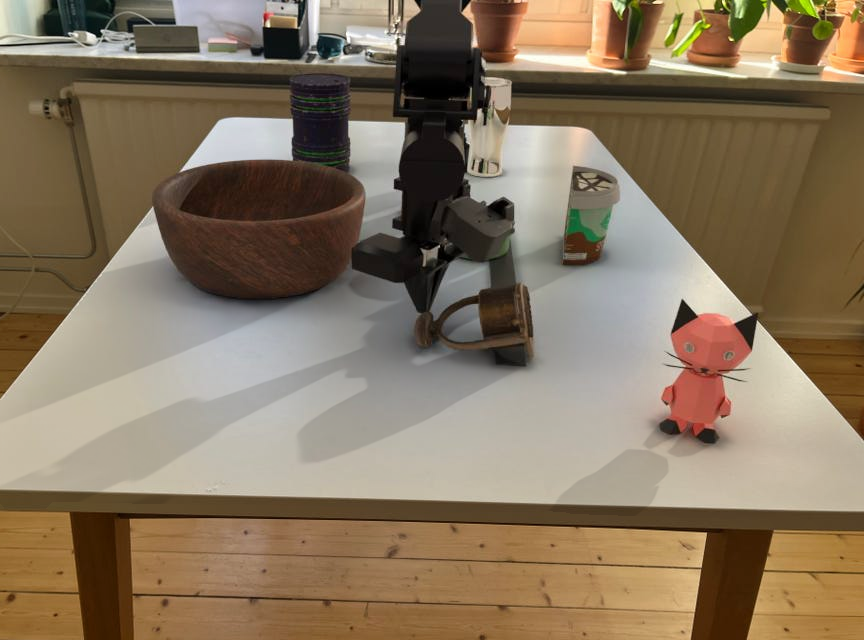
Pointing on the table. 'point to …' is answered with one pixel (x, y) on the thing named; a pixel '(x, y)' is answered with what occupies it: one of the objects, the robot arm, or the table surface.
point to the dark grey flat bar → (504, 276)
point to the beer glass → (489, 129)
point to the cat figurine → (704, 368)
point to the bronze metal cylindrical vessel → (486, 321)
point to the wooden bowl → (260, 225)
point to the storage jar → (321, 119)
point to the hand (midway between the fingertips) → (423, 312)
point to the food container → (588, 214)
